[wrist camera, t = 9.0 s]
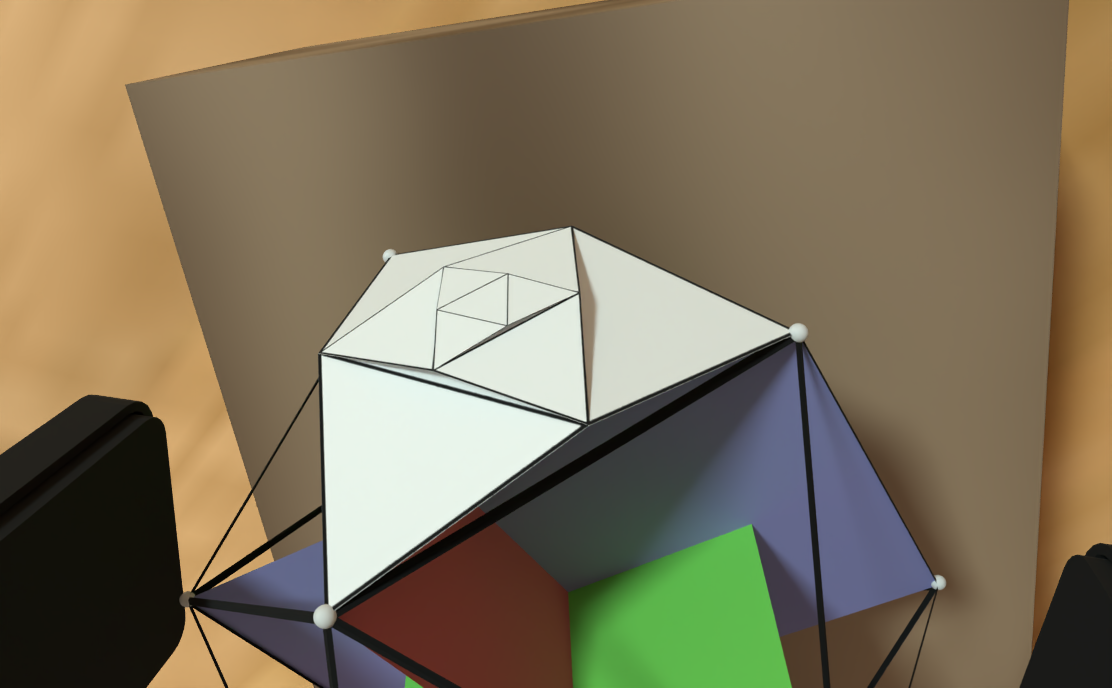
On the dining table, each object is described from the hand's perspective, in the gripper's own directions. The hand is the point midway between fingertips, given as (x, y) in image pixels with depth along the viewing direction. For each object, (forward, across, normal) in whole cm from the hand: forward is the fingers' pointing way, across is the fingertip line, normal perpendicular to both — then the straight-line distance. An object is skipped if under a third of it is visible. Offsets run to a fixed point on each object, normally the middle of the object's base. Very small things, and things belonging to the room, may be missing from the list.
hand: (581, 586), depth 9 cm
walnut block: (+9, 0, 0) cm, 9 cm away
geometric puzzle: (+3, 0, 0) cm, 3 cm away
